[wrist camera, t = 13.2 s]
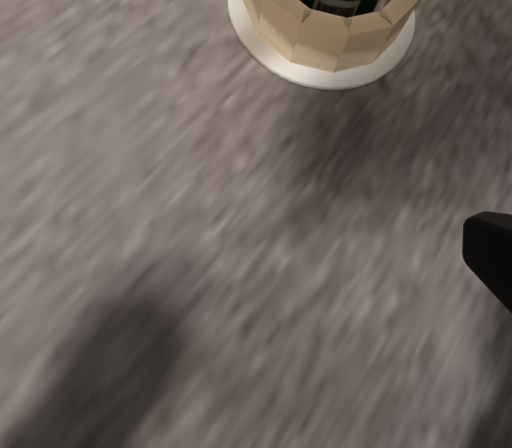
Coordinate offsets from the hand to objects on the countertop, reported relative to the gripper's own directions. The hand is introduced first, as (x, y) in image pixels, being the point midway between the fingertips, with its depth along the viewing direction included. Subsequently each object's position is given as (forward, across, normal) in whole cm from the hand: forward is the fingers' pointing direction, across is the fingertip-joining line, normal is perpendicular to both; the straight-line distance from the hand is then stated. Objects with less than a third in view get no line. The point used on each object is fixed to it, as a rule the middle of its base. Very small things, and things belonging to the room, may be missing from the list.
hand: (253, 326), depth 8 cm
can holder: (+21, -13, -2) cm, 24 cm away
